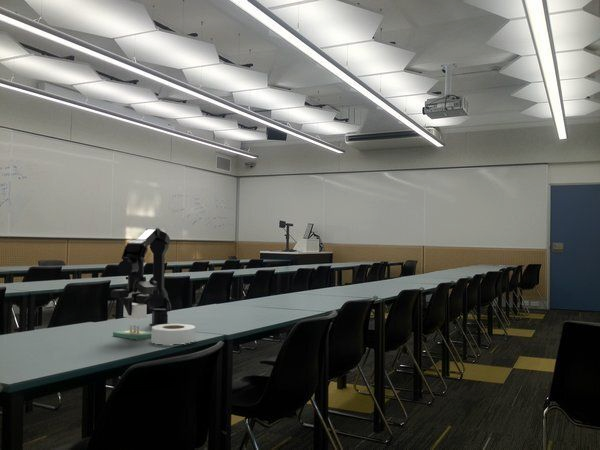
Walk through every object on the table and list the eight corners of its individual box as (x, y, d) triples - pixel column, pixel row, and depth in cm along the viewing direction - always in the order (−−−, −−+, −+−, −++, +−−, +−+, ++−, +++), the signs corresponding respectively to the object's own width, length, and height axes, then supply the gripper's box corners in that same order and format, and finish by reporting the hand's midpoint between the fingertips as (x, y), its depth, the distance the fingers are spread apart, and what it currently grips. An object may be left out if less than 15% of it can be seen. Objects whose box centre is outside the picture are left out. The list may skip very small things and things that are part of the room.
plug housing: (123, 317, 205) (123, 304, 205) (132, 315, 208) (132, 302, 209) (137, 318, 200) (137, 305, 200) (146, 317, 204) (146, 304, 204)
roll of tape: (195, 337, 205) (195, 322, 205) (194, 345, 189) (194, 329, 189) (153, 338, 202) (153, 323, 202) (149, 346, 186) (149, 330, 187)
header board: (113, 336, 204) (113, 325, 204) (132, 332, 212) (132, 322, 212) (137, 340, 196) (137, 329, 197) (155, 336, 204) (156, 325, 204)
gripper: (129, 276, 193) (128, 319, 192) (168, 273, 208) (167, 313, 208) (110, 275, 199) (109, 316, 198) (149, 272, 214) (148, 311, 214)
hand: (134, 314), depth 204 cm, fingers closed on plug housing, 4 cm apart
